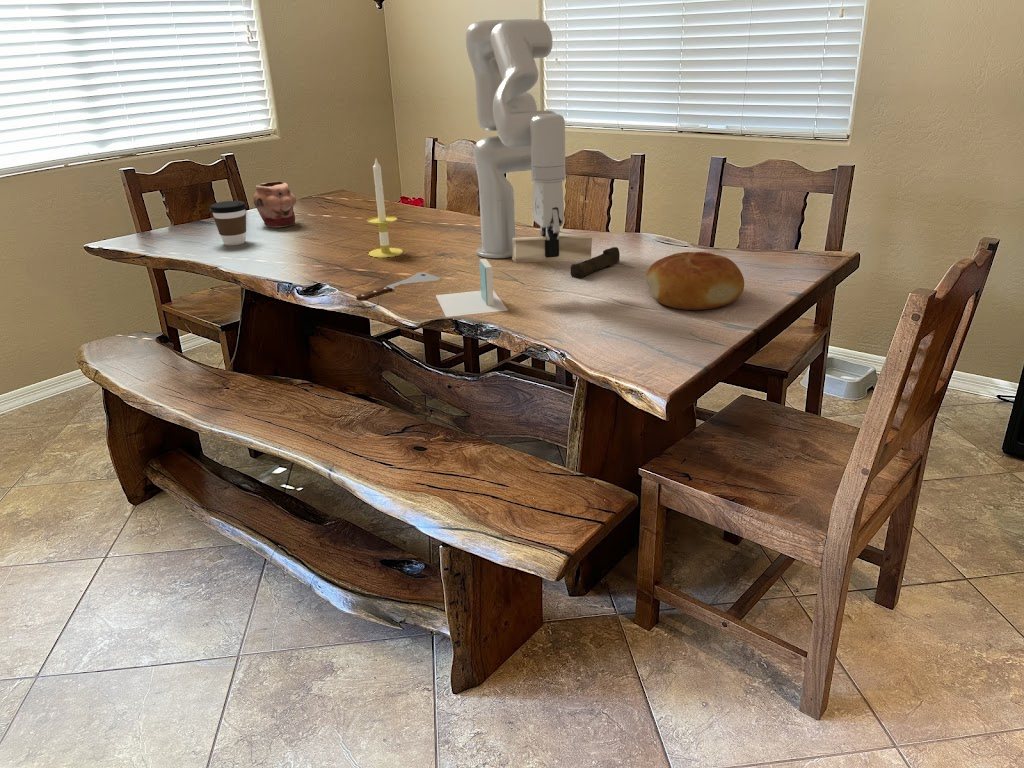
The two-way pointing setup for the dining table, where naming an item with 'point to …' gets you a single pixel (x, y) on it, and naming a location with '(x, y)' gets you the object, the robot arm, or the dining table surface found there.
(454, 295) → the mat
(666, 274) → the bread
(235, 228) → the coffee cup
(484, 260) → the tile
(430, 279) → the kitchen cleaver
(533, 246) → the beige long bar
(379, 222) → the candle
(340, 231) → the dining table surface
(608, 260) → the rusty brown spike
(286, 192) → the decorative planter
